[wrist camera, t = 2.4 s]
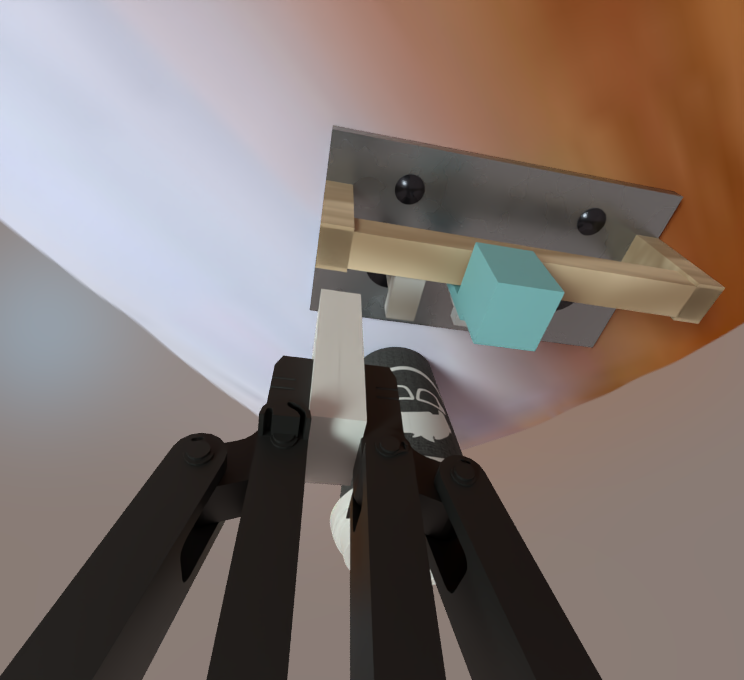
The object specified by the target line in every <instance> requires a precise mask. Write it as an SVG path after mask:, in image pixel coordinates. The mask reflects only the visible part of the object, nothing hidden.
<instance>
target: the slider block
mask: <svg viewBox="0 0 744 680" xmlns="http://www.w3.org/2000/svg"><path fill="white" fill-rule="evenodd" d="M446 286H447V289H448V292H449V295H450V297H451V300H452V303H453V306H454V307H453V310H452V312H451V315H450V316H451V319H452V322H453V325H458V326H465V327H468V330H469V333H470V335H471V338H472V341H473V343H474V344H481V345H489V346H497V347H504V348H512V349H520V350H528V351H535V350H536V348H537V346H538V344H539V342H540V340H541V338H542V336H543V334H544V332H545V330H546V328H547V327H548V325H549V323H550V321H551V319H552V317H553V315H554V313H555V311H556V309H557V307H558V305H559V303H560V301H561V299H562V297H563V295H564V293H565V292H564V291H563V289H562V288H561V287H560V286H559V284H558V283H557V282H556V280H555V279H554V278H553V276H552V275H551V274H550V273H549V271H548V270H547V269H546V267H545V266H544V265H543V263H542V262H541V261H540V259H539V258H538V257H537V256H536V254H535V253H534V252H533V251H528V250H522V249H516V248H510V247H504V246H498V245H492V244H485V243H479V242H476V243H475V246H474V249H473V252H472V254H471V257H470V260H469V263H468V266H467V269H466V272H465V275H464V277H463V280H462V283H461V285H454V284H447V283H446Z"/></svg>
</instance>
